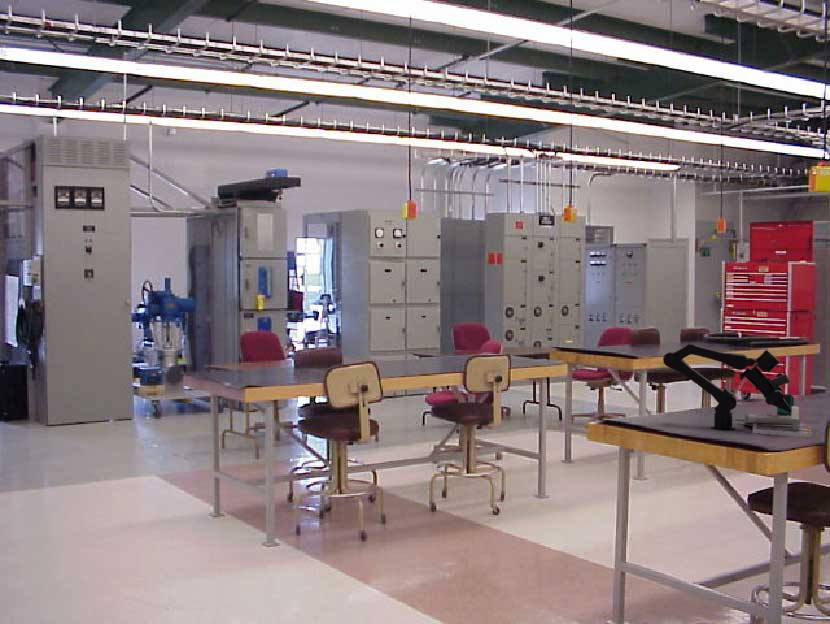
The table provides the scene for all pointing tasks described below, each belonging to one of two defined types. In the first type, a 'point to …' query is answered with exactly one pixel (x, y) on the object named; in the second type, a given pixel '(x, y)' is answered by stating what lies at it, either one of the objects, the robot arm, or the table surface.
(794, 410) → the cap
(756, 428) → the fader console
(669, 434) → the table surface
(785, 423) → the geiger counter
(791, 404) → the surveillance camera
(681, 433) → the table surface
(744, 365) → the robot arm
